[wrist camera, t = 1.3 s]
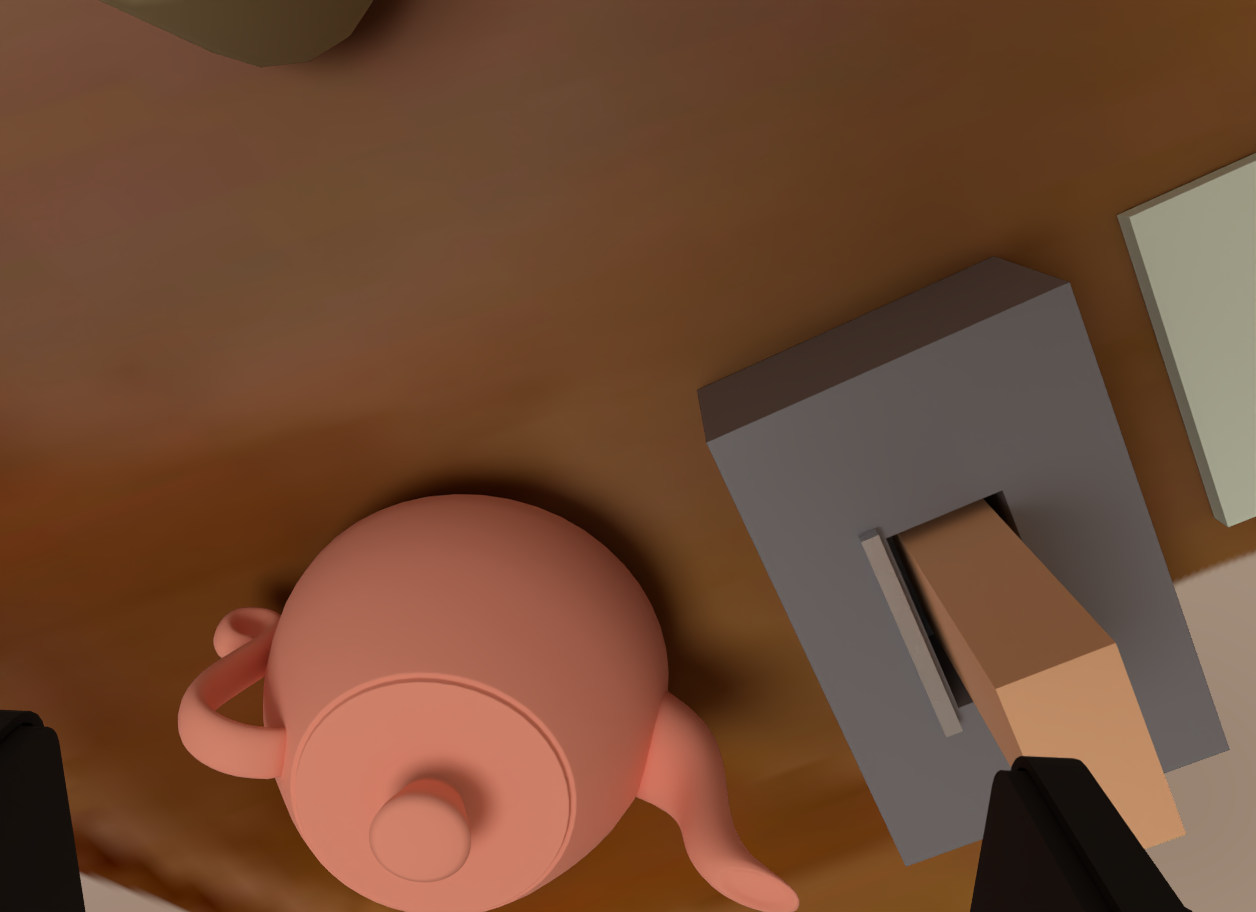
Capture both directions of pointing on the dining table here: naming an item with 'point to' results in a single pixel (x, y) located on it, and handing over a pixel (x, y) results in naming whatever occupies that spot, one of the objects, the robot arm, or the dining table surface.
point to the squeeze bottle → (254, 25)
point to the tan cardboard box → (1036, 661)
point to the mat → (1206, 320)
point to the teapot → (468, 710)
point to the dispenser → (930, 487)
